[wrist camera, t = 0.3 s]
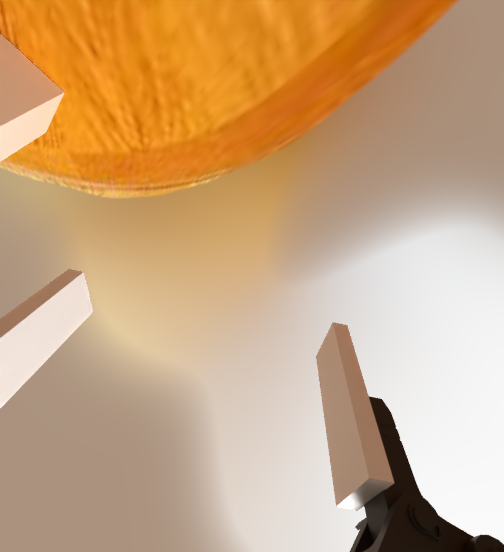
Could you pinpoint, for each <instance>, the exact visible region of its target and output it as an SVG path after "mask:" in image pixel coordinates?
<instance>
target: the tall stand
mask: <svg viewBox="0 0 504 552" xmlns="http://www.w3.org/2000/svg"><path fill="white" fill-rule="evenodd" d="M64 93H65V92H64V91H62V90H61V89H60V88H59V87H58V86H57V85H56V84H55V83H54V82H53V81H52V80H50V79H49V78H48V77H47V76H46V75H45V74H44V73H43V72H42V71H41V70H40V69H38V68H37V67H36V66H35V65H34V64H33V63H32V62H31V61H30V60H29V59H28V58H26V57H25V56H24V55H23V54H22V53H21V52H20V51H19V50H18V49H17V48H16V47H15V46H13V45H12V44H11V43H10V42H9V41H8V40H7V39H6V38H5V37H4V36H3V35H1V34H0V162H1V161H2V160H4V159H5V158H7V157H8V156H10V155H11V154H13V153H15V152H16V151H18V150H19V149H21V148H22V147H24V146H25V145H27V144H29V143H30V142H32V141H33V140H35V139H36V138H38V137H40V136H41V135H43V134H44V133H46V131H47V129H48V127H49V125H50V122H51V120H52V118H53V116H54V114H55V112H56V110H57V108H58V105H59V103H60V101H61V99H62V97H63V95H64Z"/></svg>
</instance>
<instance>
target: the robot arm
mask: <svg viewBox="0 0 504 552" xmlns="http://www.w3.org/2000/svg"><path fill="white" fill-rule="evenodd" d="M92 312H93V309H92V305H91V300H90V296H89V292H88V288H87V285H86V281H85V276H84V272H81V271H76V270H71V269H69V270H67V271H66V272H64V273H63V274H61V275H60V276H59V277H57V278H56V279H55V280H53V281H52V282H50V283H49V284H48V285H46V286H45V287H44V288H42V289H41V290H39V291H38V292H37V293H35V294H34V295H33V296H31V297H30V298H29V299H27V300H26V301H24V302H23V303H22V304H20V305H19V306H17V307H16V308H15V309H14V310H12V311H11V312H9V313H8V314H6V315H5V316H4V317H3V318H1V319H0V408H1V407H2V406H3V405H4V404H5V403H6V402H7V401H8V400H9V399H10V398H11V397H12V396H13V395H14V394H15V393H16V392H17V390H18V389H19V388H20V387H21V386H22V385H23V384H24V383H25V382H26V381H27V380H28V379H29V378H30V377H31V376H32V375H33V374H34V373H35V372H36V371H37V370H38V369H39V367H40V366H41V365H42V364H43V363H44V362H45V361H46V360H47V359H48V358H49V357H50V356H51V355H52V354H53V353H54V352H55V351H56V350H57V349H58V348H59V347H60V345H62V344H63V342H64V341H65V340H66V339H67V338H68V337H69V336H70V335H71V334H72V333H73V332H74V331H75V330H76V329H77V328H78V327H79V326H80V325H81V324H82V323H83V322H84V321H85V320H86V319H87V318H88V316H89V315H90V314H91V313H92ZM316 358H317V366H318V373H319V381H320V388H321V396H322V403H323V411H324V417H325V425H326V433H327V440H328V447H329V455H330V463H331V470H332V477H333V485H334V492H335V499H336V506H337V507H341V508H346V509H352V510H356V511H358V510H359V509H360V508H362V507H363V506H364V507H365V511H366V516H367V518H365V519H364V520H362V521H361V522H359V523H358V525H357V526H356V528H357V529H358V530H359V529H360V531H359V533H358V535H357V537H356V540H355V542H354V544H353V546H352V548H351V550H350V552H504V544H502V543H501V542H500V541H499V540H497V539H495V538H493V537H491V536H489V535H479V536H476V537H473V536H471V535H469V534H467V533H466V532H464V531H463V530H461V529H459V528H457V527H456V526H454V525H452V524H451V523H449V522H447V521H446V520H444V519H443V518H441V517H440V516H438V514H437V512H436V511H435V509H434V508H433V507H432V506H431V505H430V504H429V502H428V501H427V500H426V499H424V498H423V496H422V495H421V493H420V491H419V489H418V486H417V484H416V481H415V478H414V476H413V473H412V470H411V467H410V464H409V462H408V459H407V456H406V453H405V450H404V448H403V445H402V442H401V441H400V437H399V434H398V431H397V429H396V425H395V422H394V420H393V417H392V414H391V412H390V410H389V409H388V407H387V406H386V405H385V403H384V402H383V400H382V399H378V398H374V397H369V396H368V393H367V390H366V387H365V383H364V380H363V376H362V373H361V370H360V366H359V363H358V360H357V356H356V353H355V350H354V346H353V343H352V340H351V336H350V333H349V330H348V326H347V325H343V324H338V323H332V325H331V327H330V329H329V331H328V333H327V336H326V337H325V339H324V341H323V344H322V346H321V348H320V350H319V352H318V354H317V356H316Z"/></svg>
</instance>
